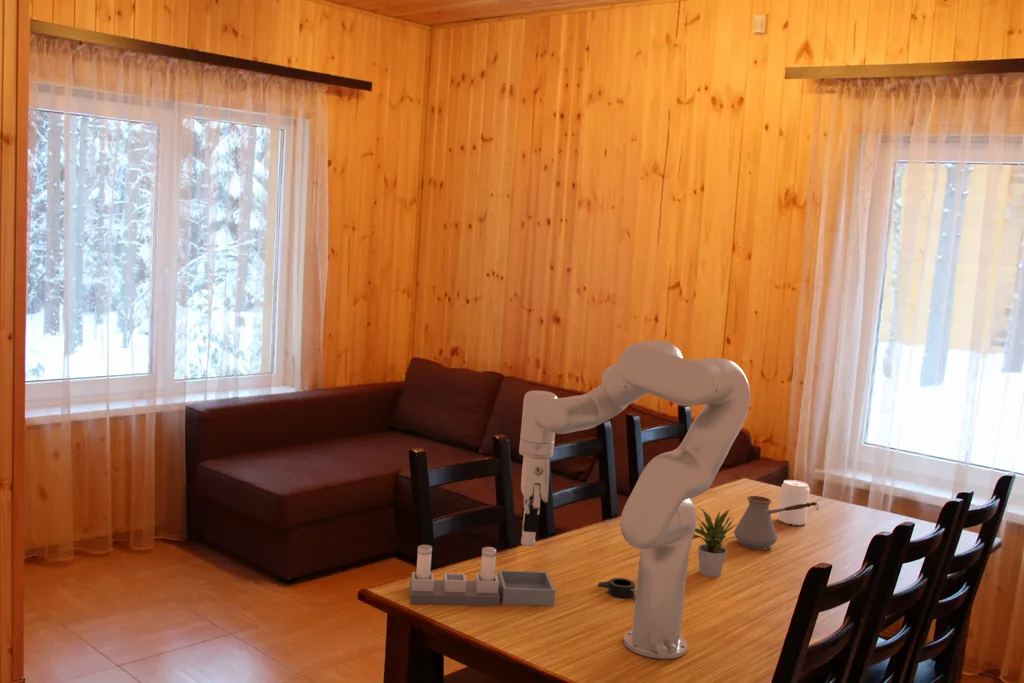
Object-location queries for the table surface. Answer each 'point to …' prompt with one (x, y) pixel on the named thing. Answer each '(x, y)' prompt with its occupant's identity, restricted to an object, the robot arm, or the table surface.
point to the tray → (525, 588)
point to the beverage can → (793, 502)
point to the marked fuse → (527, 533)
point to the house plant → (712, 544)
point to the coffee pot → (760, 523)
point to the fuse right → (488, 564)
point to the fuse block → (454, 590)
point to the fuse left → (423, 562)
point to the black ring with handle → (619, 587)
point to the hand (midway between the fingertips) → (529, 527)
